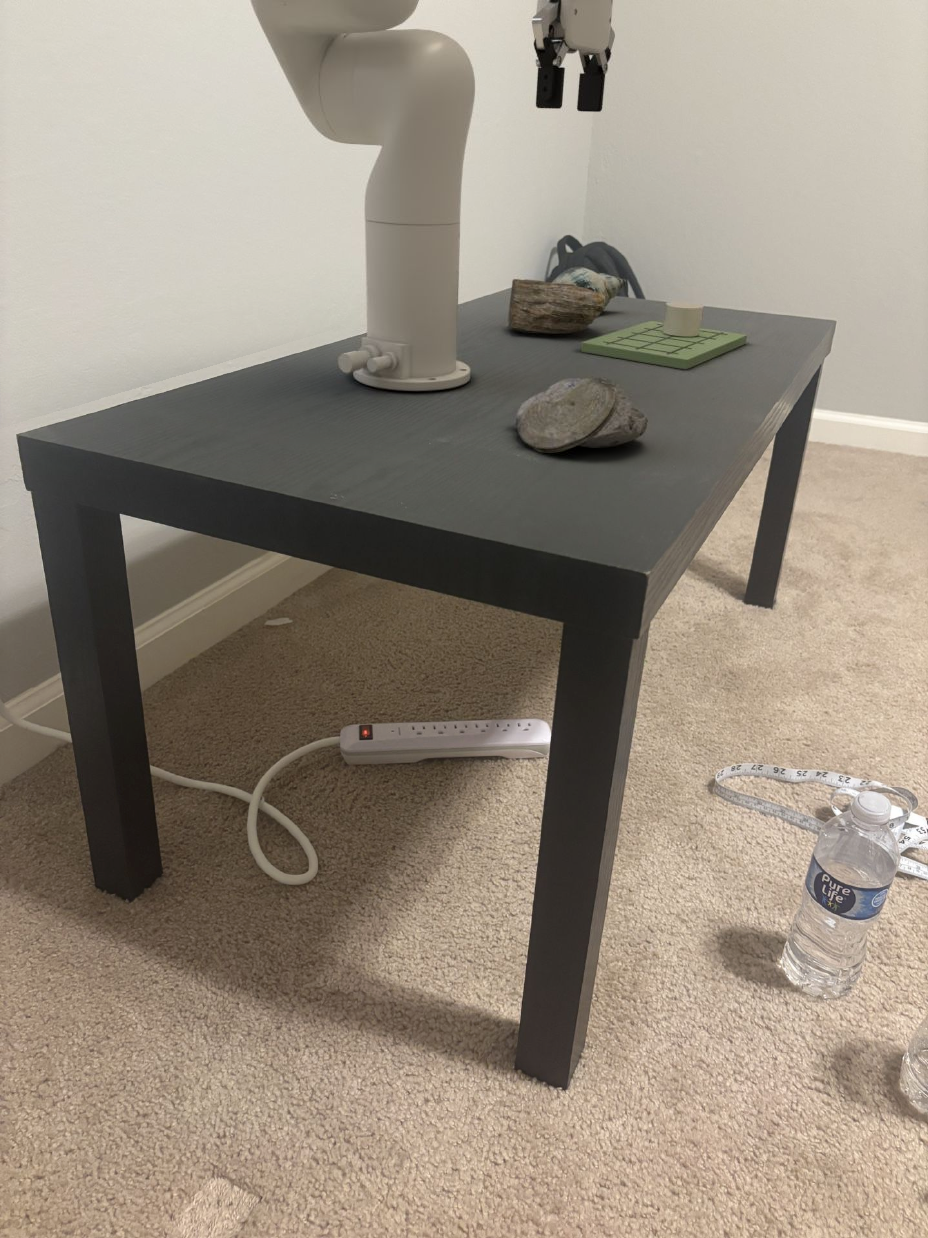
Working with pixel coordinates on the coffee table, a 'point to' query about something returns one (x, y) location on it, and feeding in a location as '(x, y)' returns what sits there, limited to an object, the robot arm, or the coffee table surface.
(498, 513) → the coffee table surface
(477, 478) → the coffee table surface
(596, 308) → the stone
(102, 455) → the coffee table surface
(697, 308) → the beige cylinder
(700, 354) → the board
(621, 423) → the fossilized seashell
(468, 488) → the coffee table surface
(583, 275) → the seashell
